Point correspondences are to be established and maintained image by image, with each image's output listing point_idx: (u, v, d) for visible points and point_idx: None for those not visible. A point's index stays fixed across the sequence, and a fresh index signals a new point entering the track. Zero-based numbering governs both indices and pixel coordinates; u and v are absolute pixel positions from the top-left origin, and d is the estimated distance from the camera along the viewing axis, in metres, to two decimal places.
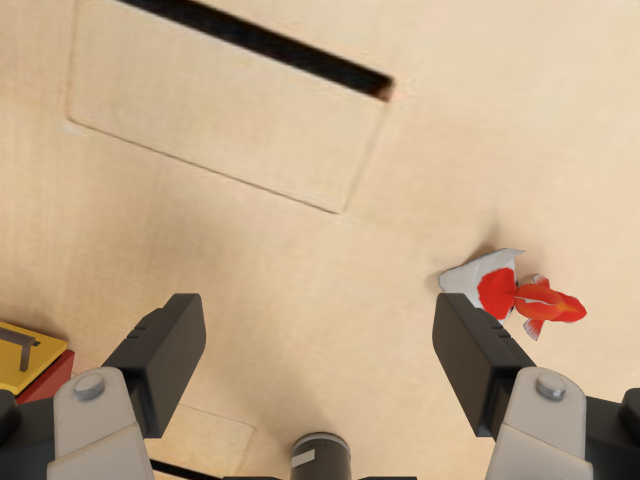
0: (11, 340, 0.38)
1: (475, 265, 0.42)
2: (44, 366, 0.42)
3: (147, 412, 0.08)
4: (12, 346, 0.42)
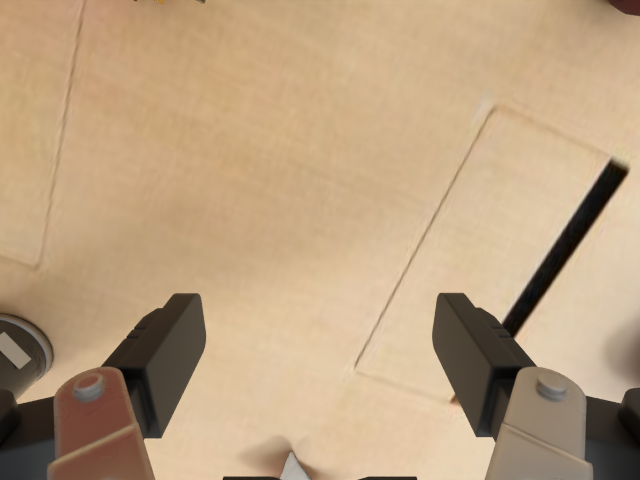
0: None
1: (301, 476, 0.45)
2: None
3: (147, 411, 0.08)
4: None
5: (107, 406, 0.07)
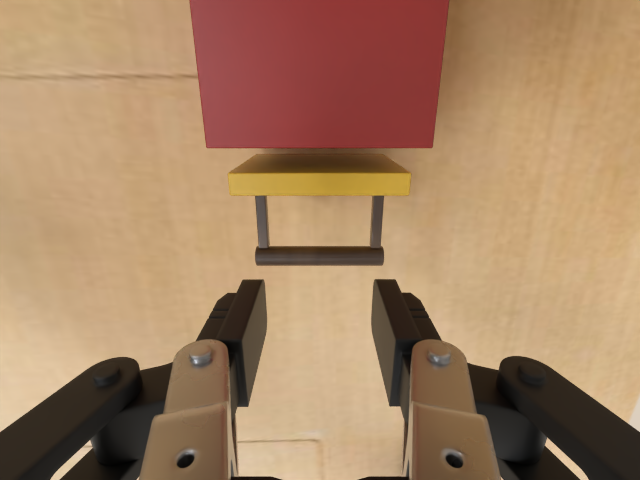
0: (283, 260, 0.21)
1: None
2: None
3: (238, 382, 0.09)
4: None
5: (210, 377, 0.07)
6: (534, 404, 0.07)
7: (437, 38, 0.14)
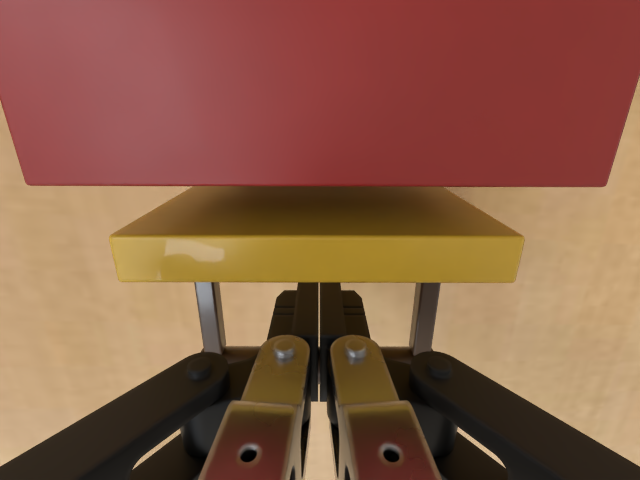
0: None
1: None
2: None
3: (311, 377, 0.09)
4: None
5: (288, 374, 0.07)
6: (447, 400, 0.07)
7: None
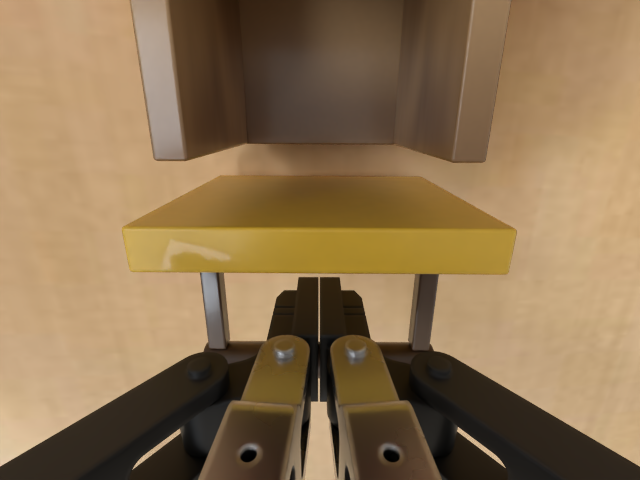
0: None
1: None
2: None
3: (310, 376, 0.09)
4: None
5: (288, 374, 0.07)
6: (447, 400, 0.07)
7: None
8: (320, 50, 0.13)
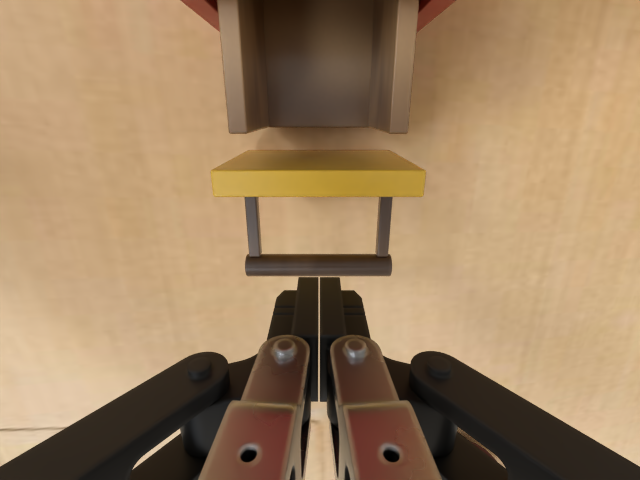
0: (277, 271, 0.18)
1: None
2: None
3: (310, 376, 0.09)
4: None
5: (288, 374, 0.07)
6: (447, 400, 0.07)
7: None
8: (318, 63, 0.19)
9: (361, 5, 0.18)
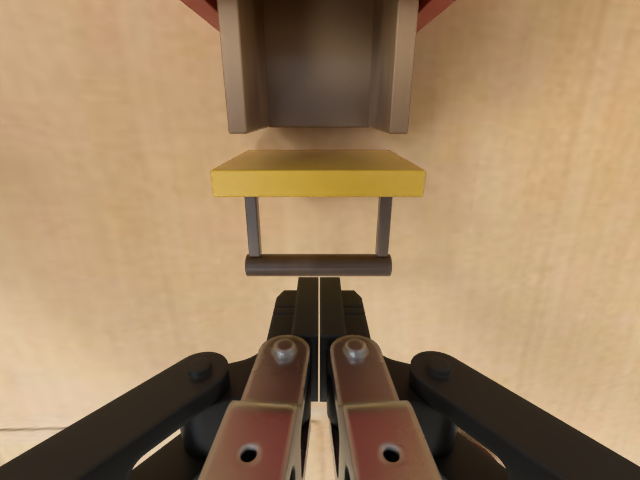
0: (277, 270, 0.18)
1: None
2: None
3: (310, 376, 0.09)
4: None
5: (288, 374, 0.07)
6: (447, 400, 0.07)
7: None
8: (318, 63, 0.19)
9: (361, 5, 0.18)
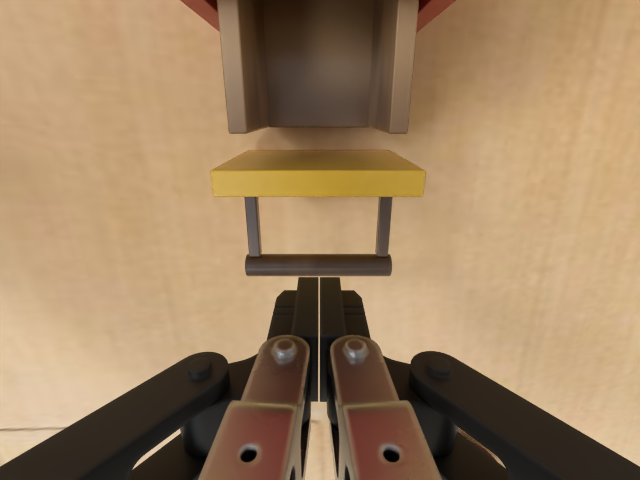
0: (277, 270, 0.18)
1: None
2: None
3: (310, 376, 0.09)
4: None
5: (288, 374, 0.07)
6: (447, 400, 0.07)
7: None
8: (318, 63, 0.19)
9: (361, 5, 0.18)
